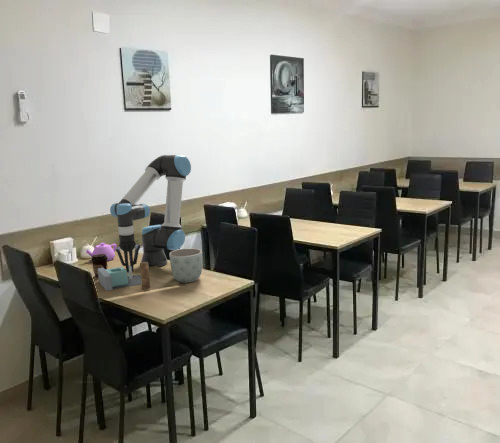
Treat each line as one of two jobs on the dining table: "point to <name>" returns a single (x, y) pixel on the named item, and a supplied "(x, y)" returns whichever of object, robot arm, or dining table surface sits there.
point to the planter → (186, 264)
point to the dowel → (145, 275)
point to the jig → (107, 283)
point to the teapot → (103, 250)
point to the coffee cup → (99, 263)
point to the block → (118, 276)
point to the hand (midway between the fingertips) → (130, 277)
